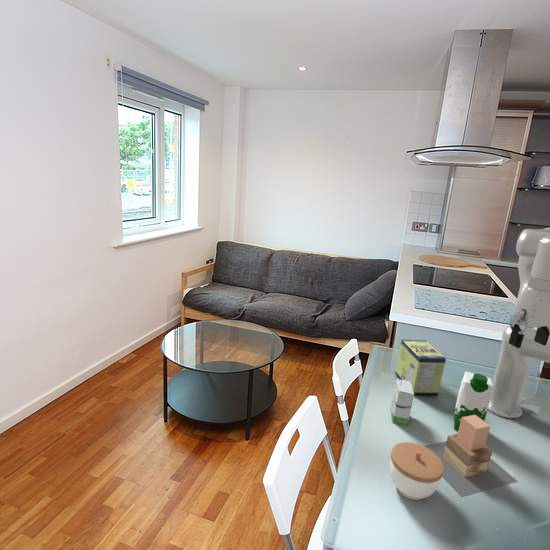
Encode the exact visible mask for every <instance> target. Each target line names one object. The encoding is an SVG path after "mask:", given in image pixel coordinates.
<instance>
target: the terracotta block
mask: <svg viewBox="0 0 550 550" xmlns="http://www.w3.org/2000/svg"><path fill="white" fill-rule="evenodd" d="M490 429H491V425H489V424H488V423H487V422H486V421H483V420H482V419H480V418H479V417H478V416H476V415H471V416H466V417H462V419H461V422H460V426H459V430H458V431H457V433H456V434H457V437H456V439H457V440H459V441H460V442H461V443H462V444H463V445H464V446H465V447H467V448H468V449H469V450H470V451H472V450H476V449H481V448H484V446H485V445H486V443H487V439H488V436H489V432H490Z"/></svg>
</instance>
